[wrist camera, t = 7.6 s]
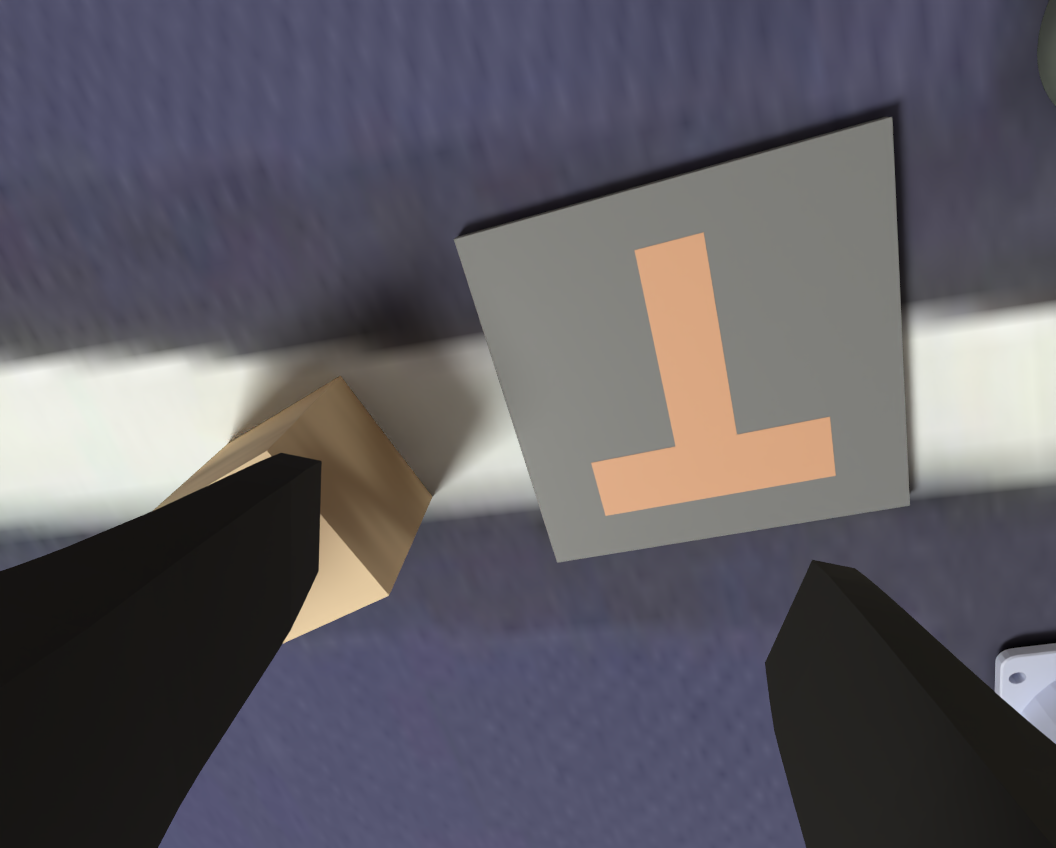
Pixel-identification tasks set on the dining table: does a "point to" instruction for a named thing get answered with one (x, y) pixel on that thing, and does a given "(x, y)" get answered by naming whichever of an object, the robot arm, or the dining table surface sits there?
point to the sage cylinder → (1048, 51)
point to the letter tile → (706, 347)
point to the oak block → (337, 497)
